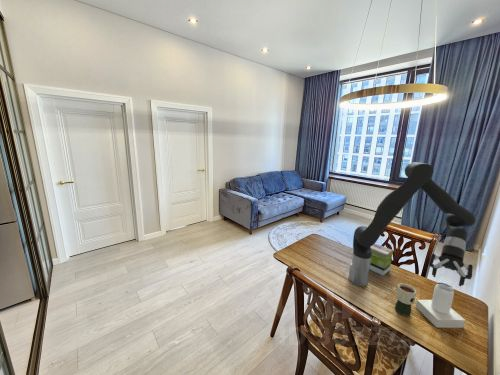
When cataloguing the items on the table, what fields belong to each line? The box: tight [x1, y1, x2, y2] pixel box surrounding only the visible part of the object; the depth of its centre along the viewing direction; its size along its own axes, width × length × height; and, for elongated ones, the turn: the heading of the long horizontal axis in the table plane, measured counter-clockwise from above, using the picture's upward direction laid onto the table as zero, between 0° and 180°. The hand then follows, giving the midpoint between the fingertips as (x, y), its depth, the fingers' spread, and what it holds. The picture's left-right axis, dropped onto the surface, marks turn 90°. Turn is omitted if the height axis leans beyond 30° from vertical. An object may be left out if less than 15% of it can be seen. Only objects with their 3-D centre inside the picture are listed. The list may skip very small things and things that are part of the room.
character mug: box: [394, 283, 417, 317], centre depth 101 cm, size 11×7×13 cm, turn 133°
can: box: [431, 282, 455, 314], centre depth 97 cm, size 6×6×12 cm
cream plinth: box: [415, 299, 466, 329], centre depth 99 cm, size 12×12×4 cm
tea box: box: [369, 243, 394, 277], centre depth 136 cm, size 15×10×15 cm, turn 37°
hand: (446, 280), depth 94 cm, fingers open, 8 cm apart
